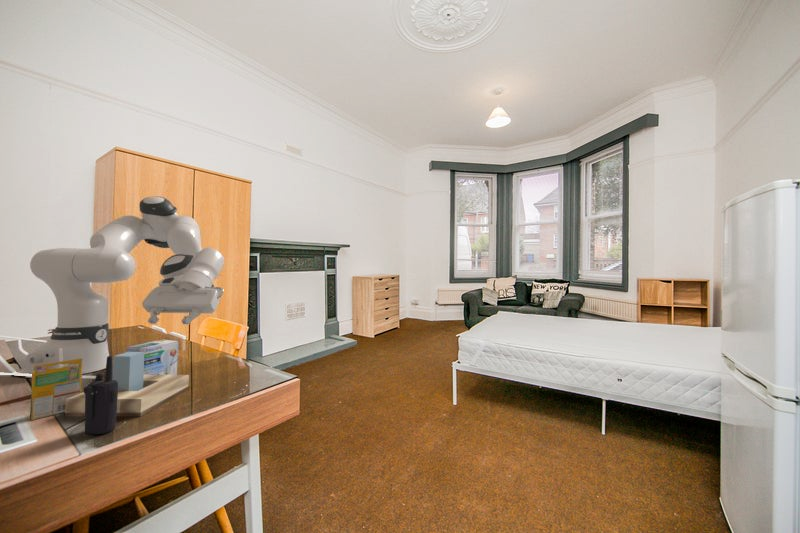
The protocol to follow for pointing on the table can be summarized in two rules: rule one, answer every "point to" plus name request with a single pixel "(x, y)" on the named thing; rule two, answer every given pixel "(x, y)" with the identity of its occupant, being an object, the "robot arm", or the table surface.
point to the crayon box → (54, 387)
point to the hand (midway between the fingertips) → (168, 322)
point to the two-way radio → (101, 402)
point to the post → (129, 371)
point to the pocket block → (137, 396)
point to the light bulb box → (158, 356)
